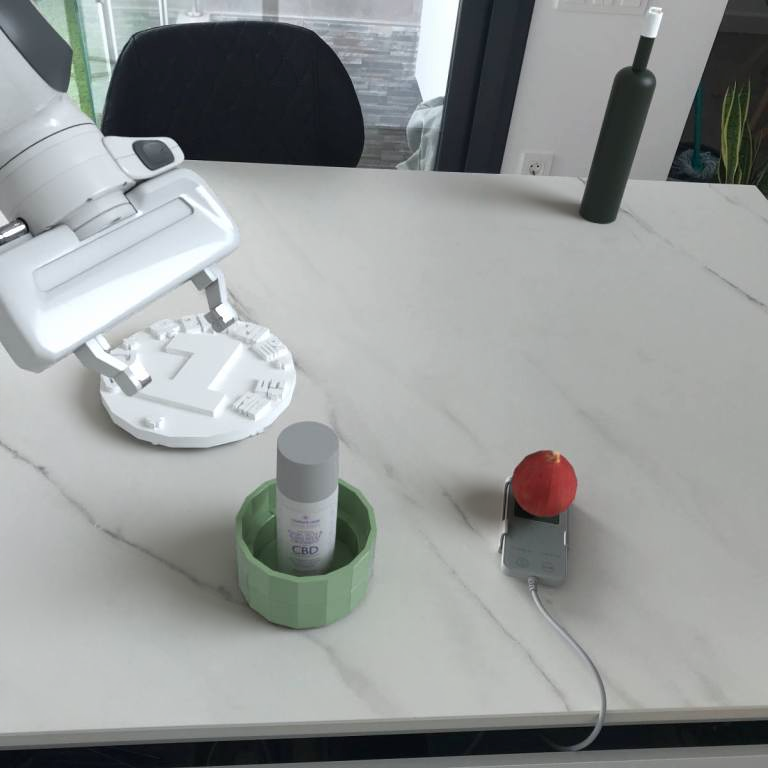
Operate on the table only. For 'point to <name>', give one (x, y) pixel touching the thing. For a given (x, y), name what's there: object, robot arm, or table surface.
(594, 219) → the wine bottle
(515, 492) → the onion
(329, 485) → the container
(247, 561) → the green faceted pot
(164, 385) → the giant coin
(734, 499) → the table surface
